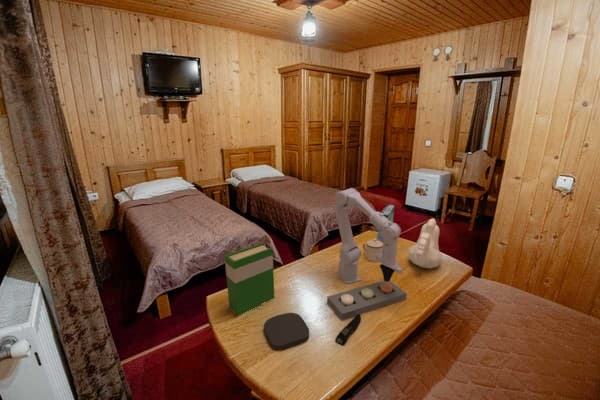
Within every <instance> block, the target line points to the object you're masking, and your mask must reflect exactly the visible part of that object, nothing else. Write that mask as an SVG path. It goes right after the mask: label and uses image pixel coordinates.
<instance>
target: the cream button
mask: <svg viewBox="0 0 600 400" xmlns="http://www.w3.org/2000/svg"><path fill="white" fill-rule="evenodd" d="M353 299H354V298H353V296H351V295H349V294H344V295H342V296H341V303H342V304H343V305H344V306H345V307H346V306H349V305H353Z"/></svg>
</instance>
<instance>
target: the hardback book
mask: <svg viewBox="0 0 600 400" xmlns="http://www.w3.org/2000/svg"><path fill="white" fill-rule="evenodd" d="M273 252H274V251H273V248H272V247H269V248H268V247H266V246H265V243H264V242H261V243H257V244H254V245H252V246H249V247H245V248H242V249H240V250H236V251H234V252H231V253H228V254H224V262H225V263H224V264H225V274H226V285H227V287H226V288H227V294H228V296H227V297H228V307H229V309H230V308H231V309H232V310H233V311H234V312H235V313H234V312H233V311H232V310H231V309H230V310H231V311H232V312H233V313H234V314H235V315H236V316H237V317H240V316H242V315H244V314H246V313H248V312H250V311H252V310H254V309H256V308H258V307H260V306H262V305H263V304H262V303H264V302H267V301H269V300H271V299H273V298H274V299H275V281H274V280H275V275H274V274H275V273H274V255H273V254H274V253H273ZM274 299H273V300H274ZM271 301H272V300H271ZM269 302H270V301H269ZM267 303H268V302H267ZM261 304H262V305H261ZM259 305H260V306H259ZM257 306H258V307H257ZM255 307H256V308H255ZM253 308H254V309H253ZM251 309H252V310H251ZM249 310H250V311H249ZM247 311H248V312H247ZM245 312H246V313H245ZM243 313H244V314H243ZM241 314H242V315H241ZM239 315H240V316H239Z"/></svg>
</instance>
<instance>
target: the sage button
mask: <svg viewBox="0 0 600 400" xmlns="http://www.w3.org/2000/svg"><path fill="white" fill-rule="evenodd" d="M373 294H374V292H373V291H372V290H371V289H368V288H365V289H362V291H361V296H362V297H363V298H364V299H365V300H369V299H372V298H373Z"/></svg>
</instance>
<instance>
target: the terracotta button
mask: <svg viewBox="0 0 600 400" xmlns="http://www.w3.org/2000/svg"><path fill="white" fill-rule="evenodd" d="M380 290H381V291H382V292H383V293H384V294H388V293H391V292H392V285H390V284H388V283H382V284H381V285H380Z"/></svg>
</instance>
